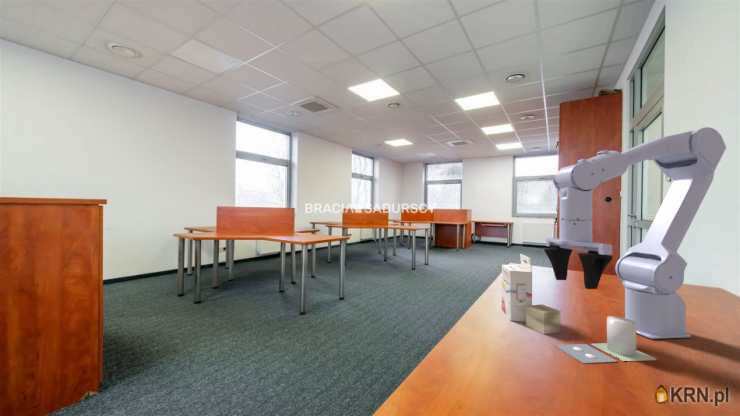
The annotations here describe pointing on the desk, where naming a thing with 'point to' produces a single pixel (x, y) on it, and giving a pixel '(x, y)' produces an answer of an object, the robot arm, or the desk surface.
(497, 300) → the desk surface
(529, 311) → the birch block
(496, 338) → the desk surface
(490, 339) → the desk surface
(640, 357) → the pad one
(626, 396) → the desk surface
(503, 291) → the ink cartridge box
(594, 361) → the pad two
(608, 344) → the white capsule cylinder
